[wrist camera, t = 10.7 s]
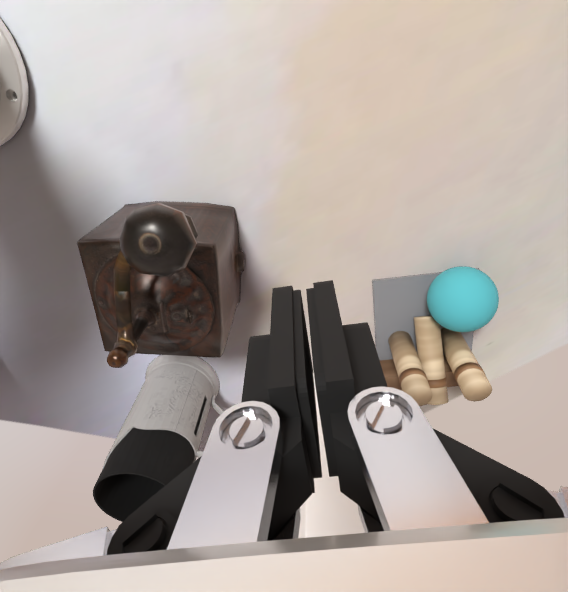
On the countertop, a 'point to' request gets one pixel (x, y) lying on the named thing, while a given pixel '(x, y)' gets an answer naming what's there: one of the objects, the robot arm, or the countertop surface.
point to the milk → (328, 503)
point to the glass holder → (158, 433)
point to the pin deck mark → (402, 309)
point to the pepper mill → (164, 279)
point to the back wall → (393, 378)
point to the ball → (462, 299)
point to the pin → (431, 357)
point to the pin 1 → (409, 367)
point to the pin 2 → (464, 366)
